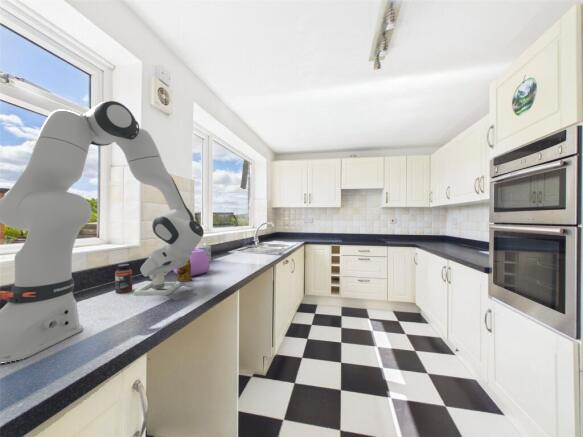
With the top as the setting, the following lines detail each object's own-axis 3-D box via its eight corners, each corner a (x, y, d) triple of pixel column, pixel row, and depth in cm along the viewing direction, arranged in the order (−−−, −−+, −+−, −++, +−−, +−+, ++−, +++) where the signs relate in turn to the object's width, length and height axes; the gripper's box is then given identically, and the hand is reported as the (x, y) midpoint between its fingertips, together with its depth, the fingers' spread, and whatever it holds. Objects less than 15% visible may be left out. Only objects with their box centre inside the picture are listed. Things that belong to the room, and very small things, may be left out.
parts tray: (167, 297, 97) (167, 290, 97) (133, 297, 96) (133, 291, 96) (180, 287, 110) (180, 281, 110) (150, 287, 109) (150, 282, 109)
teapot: (188, 268, 148) (188, 243, 148) (214, 272, 138) (214, 245, 138) (151, 276, 128) (151, 248, 127) (179, 282, 118) (179, 251, 118)
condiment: (176, 284, 114) (176, 259, 114) (176, 280, 122) (176, 256, 122) (193, 283, 117) (193, 258, 117) (192, 278, 125) (192, 255, 125)
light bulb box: (204, 260, 172) (204, 245, 172) (211, 261, 169) (211, 245, 169) (191, 263, 163) (191, 247, 163) (199, 264, 160) (199, 247, 159)
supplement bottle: (129, 288, 108) (129, 262, 108) (134, 291, 104) (134, 264, 104) (113, 291, 104) (113, 264, 103) (117, 294, 100) (117, 266, 100)
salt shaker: (164, 288, 102) (164, 264, 102) (151, 289, 100) (151, 265, 100) (164, 285, 106) (164, 262, 106) (152, 286, 104) (152, 263, 104)
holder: (198, 297, 98) (198, 294, 98) (175, 303, 91) (175, 300, 91) (187, 292, 103) (187, 289, 103) (165, 297, 97) (165, 295, 97)
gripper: (189, 245, 110) (173, 265, 114) (148, 251, 91) (130, 275, 95) (197, 255, 109) (180, 275, 112) (157, 264, 89) (138, 288, 93)
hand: (157, 275), depth 103 cm, fingers closed on salt shaker, 4 cm apart
